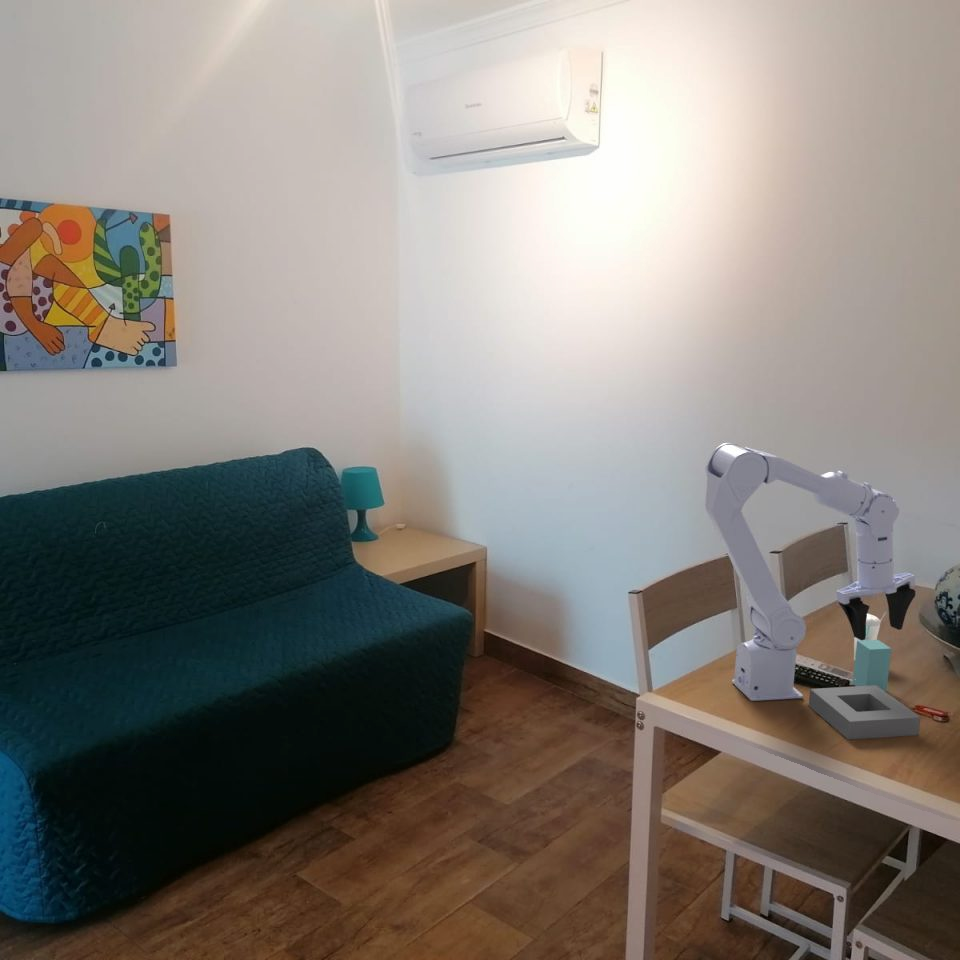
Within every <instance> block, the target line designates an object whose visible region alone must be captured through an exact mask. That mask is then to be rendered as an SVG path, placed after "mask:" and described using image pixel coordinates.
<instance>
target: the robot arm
mask: <svg viewBox="0 0 960 960" xmlns="http://www.w3.org/2000/svg"><path fill="white" fill-rule="evenodd" d="M705 472H706V477H707V479H706V492H705V510H706V513H707V515H708V517H709V518H710V522H711V523H712V525H713V527H714V529H715V531H716V533H717V535H718V537H719V539H720V541H721V544H722V545H723V547H724V549H725V552H726V554H727V555H728V558H729V560H730V562H731V564H732V566H733V568H734V570H735V572H736V574H737V576H738V579H739V580H740V582H741V584H742V586H743V588H744V590H745V592H746V594H747V595H746V598H745V600H746V602H747V605H748V609H749V613H748V617H749V622H750V623H751V625H752V626H753V627H754V632H753V638H752V639H750V640H748V641H744V642H741V643H739V644H738V646H737V649H736V652H735V664H734V677H733V679H732V681H731V682H732V684H734V685H735V687H736V688H738V690H739V691H741V692H742V693H743V694H744V695H745V696H746V697H747V698H748V699H749V700H750V701H752V702H755V701H757V702H758V701H771V700H772V701H774V700H790V699H802V698H804V695H803V693H802V692H800V691H799V690H798V689H797V688H796V687H794V684H795V683H794V682H795V672H796V662H797V661H796V660H797V649H798V645H799V644H801V643H802V641H803V640H804V638H805V636H806V633H807V625H806V621H805V620H804V619H803V617H801V616H800V615H799V614H797V613H796V612H795V611H794V610H793V609H792V606H791V604H790V603H789V602H788V600H787V599H786V598H785V596H784V595H783V593H782V592H781V591H780V589H779V587H778V585H777V584H776V581H775V579H774V577H773V575H772V573H771V570H770V568H769V567H768V564H767V562H766V561H765V558H764V556H763V554H762V552H761V550H760V548H759V545H758V544H757V542H756V540H755V538H754V536H753V533H752V531H751V529H750V527H749V524H748V523H747V520H746V519H745V517H744V515H743V512H742V510H743V508H744V506H745V503H747V502H748V500H749V499H750V498H751V496H752V495H753V494H755V492H756V491H757V490H758V489H759V488H760V487H761V485H762V484H763V483H764V484H766V485H769V484H771V483H774V482H775V481H776V480H777V481H781V482H784V483H786V484H789V485H792V486H795V487H797V488H800V489H802V490H805V491H808V492H810V493H812V494H813V496H814V500H815V501H816V503H817V504H819V505H821V506H824V507H826V508H829V509H831V510H834V511H836V512H839V513H841V514H844V515H846V516H848V517H852V519H854V521H855V522H854V524H855V525H854V526H855V546H856V548H855V549H856V564H857V565H856V570H857V572H856V573H857V581H855V582H853V583H850V584H849V585H848V586H845V587H843V588H842V589H837V590H836V601H837V602H838V605H839V606H840V608H841V609H842V610H843V612H844V613H845V615H846V617H847V620H848V622H849V625H850V626H851V630H852V633H853V638H854V637H856V638H858V639H860V640H865V638H866V618H867V614H869V609H870V605H868V604H866V603H864V602H863V600H862V599H864V598H867V597H870V596H875V595H877V594H885V598H886V602H887V606H888V619H889V621H888V622H889V624H890V627H891V628H894V629H896V630H898V631H901V630H903V627H904V622H905V618H906V615H907V613H908V609H909V607H910V605H911V603H912V602H913V600H914V598H915V597H916V590H915V589H914V588H911V587H915V586H916V574H912V573H909V572H903V573H902V572H901V573H896V574H895V570H894V543H893V532H894V525H895V524H894V523H895V521H897V519H898V517H899V513H900V507H897V504H896V501H895V500H894V498H893V497H892V496H891V495H889V494H888V493H884V492H882V491H880V490H877V489H875V488H873V485H872V484H870V483H868V482H863V483H860V482H858V481H856V480H854V479H851V478H849V474H848V473H845V472H843V471H841V470H837V472H833V471H828V472H826V473H822V474H820V475H819V474H818V473H815V472H813V471H812V470H811V471H810V470H808V469H807V468H805V467H802V466H800V465H797V464H795V463H793V462H791V461H788V460H787V459H784V458H782V457H779V456H778V455H774V454H772V453H770V452H769V453H768V452H766V451H762V450H758V449H755V448H751V447H747V446H746V447H745V446H744V448H743V447H741V446H740V445H739V444H737V443H733V442H726V443H722V444H720V445H719V446H717V447H715V449H714V450H713V452H712V453H711V455H710V457H709V459H708V461H707V463H706V465H705Z"/></svg>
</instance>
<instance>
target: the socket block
mask: <svg viewBox="0 0 960 960" xmlns="http://www.w3.org/2000/svg"><path fill="white" fill-rule="evenodd" d="M808 697H809V698H808V707H810V708H811V710H812V711H814V712H815V713H816V714H818V715H819V716H820V717H821V718H822V719H823V720H824V721H826V722H827V724H829V725H830V726H831V727H833V728H834V730H836V731H837V732H838V733H840V735H842V736H843V737H844V738H845V739H847V740H862V739H879V738H891V737H892V738H893V737H908V736H909V737H910V736H919V733H920V725H921V716H920V715H919V714H917V713H916V712H914V711H912V710H911V709H910V708H909V707H907V706H906V705H904V704H903V703H902V702H900V701H899V700H898V699H896V698H894V697H893V696H892V695H890V694H889V693H887V692H885V691H884V690H882V689H881V688H879V687H878V686H877V685H872V686H855V685H854V686H839V687H837V686H836V687H822V688H819V687H818V688H810V689H809V696H808Z"/></svg>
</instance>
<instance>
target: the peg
mask: <svg viewBox="0 0 960 960" xmlns="http://www.w3.org/2000/svg"><path fill="white" fill-rule="evenodd" d="M891 655H892V648H891V647H890V646H888V644H885V643H883V642H882V641H881V640H879V639H877V640H865V641H857V646H856V656H855V661H854V667H853V677H852V684H853V685H854V686H872V685H877V686H878V687H879V688H881V689H882V690H884V691H885V692H886V693H887V690H888V682H889V673H890V666H891V665H890V664H891ZM854 678H855V679H856V680H855V679H854Z"/></svg>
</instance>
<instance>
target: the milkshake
mask: <svg viewBox="0 0 960 960" xmlns="http://www.w3.org/2000/svg"><path fill="white" fill-rule="evenodd" d="M886 614H887V611H885V612H884V613H883V615H882V616H881V619H879V617H877V616H875V615H873V614H870V613H867V618H866V638H865V640H878V639H877V638H878V635H879V631H880V627H881V622H882V620H883V618H884V617H885V615H886ZM853 638H854V641H853V661H854V662H855V656H856V646H857V641H865V640H860V639H858V638H856V637H854V636H853Z"/></svg>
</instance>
